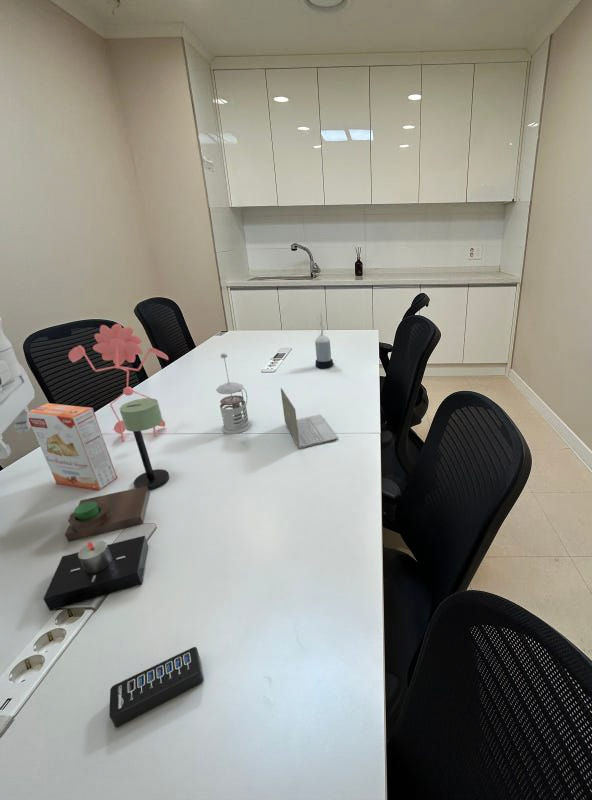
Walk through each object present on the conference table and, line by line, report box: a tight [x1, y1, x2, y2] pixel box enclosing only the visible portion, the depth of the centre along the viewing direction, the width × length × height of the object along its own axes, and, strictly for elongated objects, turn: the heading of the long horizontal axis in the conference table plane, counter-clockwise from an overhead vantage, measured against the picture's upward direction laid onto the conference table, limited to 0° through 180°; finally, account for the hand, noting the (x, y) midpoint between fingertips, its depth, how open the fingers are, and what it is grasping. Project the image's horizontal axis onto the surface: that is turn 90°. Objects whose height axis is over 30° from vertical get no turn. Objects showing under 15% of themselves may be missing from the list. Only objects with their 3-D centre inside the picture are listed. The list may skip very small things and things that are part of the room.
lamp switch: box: [73, 501, 99, 521], centre depth 83 cm, size 4×4×2 cm
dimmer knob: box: [77, 540, 112, 574], centre depth 70 cm, size 4×4×4 cm
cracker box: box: [28, 402, 118, 491], centre depth 96 cm, size 14×6×21 cm, turn 76°
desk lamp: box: [119, 397, 170, 492], centre depth 96 cm, size 10×8×22 cm
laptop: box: [280, 387, 339, 449], centre depth 120 cm, size 18×12×13 cm
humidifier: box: [314, 311, 335, 370], centre depth 177 cm, size 8×8×25 cm
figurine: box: [68, 322, 177, 442], centre depth 120 cm, size 15×26×35 cm, turn 108°
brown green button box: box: [64, 486, 151, 543], centre depth 87 cm, size 14×12×4 cm
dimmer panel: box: [43, 535, 149, 612], centre depth 72 cm, size 14×10×3 cm
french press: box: [215, 353, 253, 435], centre depth 123 cm, size 10×12×25 cm
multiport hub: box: [108, 646, 205, 728], centre depth 54 cm, size 4×11×2 cm, turn 120°
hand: (15, 443), depth 68 cm, fingers open, 8 cm apart
